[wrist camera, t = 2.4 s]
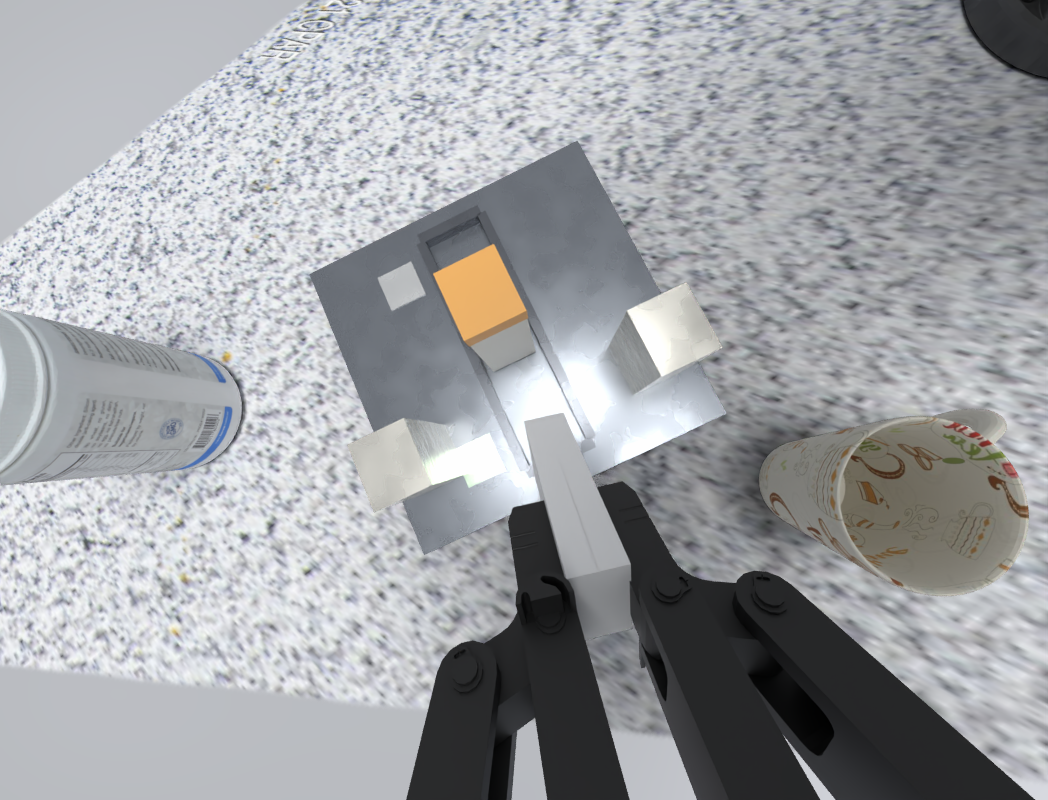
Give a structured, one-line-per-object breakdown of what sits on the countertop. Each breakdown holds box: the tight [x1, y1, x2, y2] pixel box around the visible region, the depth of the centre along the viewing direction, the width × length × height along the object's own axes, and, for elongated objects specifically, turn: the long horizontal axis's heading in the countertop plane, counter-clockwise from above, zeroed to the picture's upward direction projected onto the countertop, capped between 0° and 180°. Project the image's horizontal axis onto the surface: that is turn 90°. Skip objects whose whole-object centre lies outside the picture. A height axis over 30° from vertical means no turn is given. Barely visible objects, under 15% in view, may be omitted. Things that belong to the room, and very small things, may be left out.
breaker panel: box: [310, 141, 727, 555], centre depth 27 cm, size 24×24×10 cm
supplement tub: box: [0, 309, 242, 485], centre depth 26 cm, size 10×10×15 cm
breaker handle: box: [433, 244, 536, 372], centre depth 25 cm, size 4×4×9 cm
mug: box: [759, 409, 1029, 596], centre depth 23 cm, size 8×13×10 cm, turn 127°
